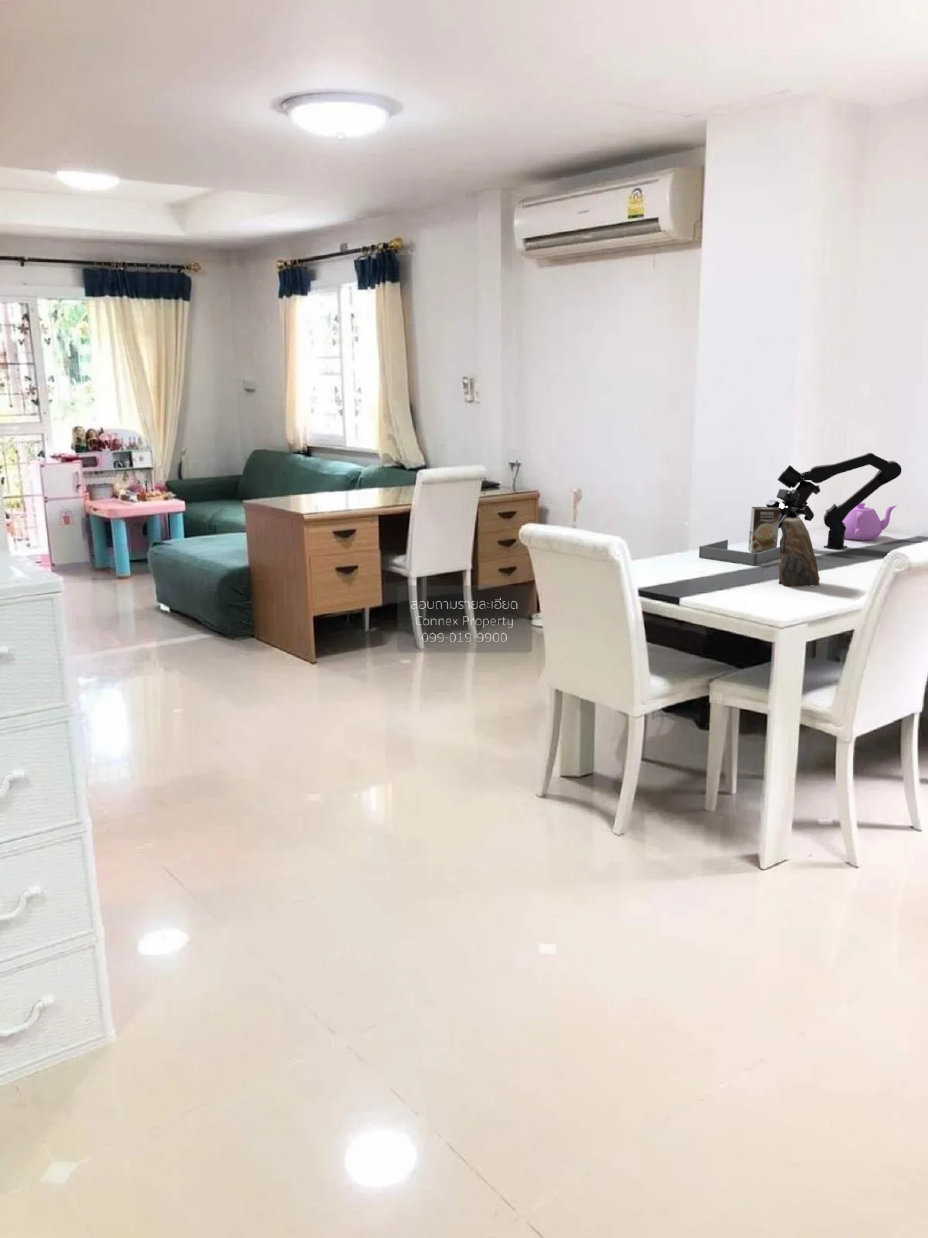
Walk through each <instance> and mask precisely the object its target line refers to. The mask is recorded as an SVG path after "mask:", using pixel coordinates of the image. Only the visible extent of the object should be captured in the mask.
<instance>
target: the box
mask: <svg viewBox="0 0 928 1238" xmlns="http://www.w3.org/2000/svg"><path fill="white" fill-rule="evenodd" d="M728 545H729V540H728V539H725V540H719V541H715V542H713V543H708V544H707V543H706V544H703V545H700V546H699V549H698V550H699V551H698V558H700V559H706V560H712V561H713V560H714V561H719V560H720V561H719V562H721V561H722V562H727V563H734V564H740V563H741V565H748V566H753V567H757V566H760V565H763V564H767V563H771V562H774V561H776V560H777V561H778V560H780V558H779V548H780V546H777V548H774V549H770V550H767V551H763V552H759V553H751V552H750V551H748V552H747V551H742V550H741V551H740V550H733V549H729V548H728V547H729V546H728ZM773 560H774V561H773ZM762 563H763V564H762Z"/></svg>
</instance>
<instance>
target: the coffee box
mask: <svg viewBox="0 0 928 1238" xmlns="http://www.w3.org/2000/svg"><path fill="white" fill-rule="evenodd" d="M750 510H751V511H750V522H749V535H748V536H749V537H748V547H747V548H748V549H747V550H748V552H749V553H759V552H763V551H767V550H770V549H774V548H777V547H778V537H779V529H778V527H779V516H780V509H779V508H776V507H767V506H751V509H750Z"/></svg>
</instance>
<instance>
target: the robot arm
mask: <svg viewBox="0 0 928 1238" xmlns="http://www.w3.org/2000/svg"><path fill="white" fill-rule="evenodd" d="M866 466H871V467H873V468H875V469H877V470H878V471H877V472H876V474H875V475H874V476H873V478H871V479H870V480H869V481H868V482H867V483H866V484H864V485H863V486H862V487H861V488H860V489H858V490H857V491H856V492H855V493H853V494H852V495H851V496H850V497H848V498H847V499H846V500H845V501H843V503H840V504H839V505H837V504H836V503H833V504H832V506H831V507H830V508H828V509H826V510H825V513H824V515H823V522H824V525H825V526H826V527H827V528H829V530H828V536H827V545H823V548H826V549H835V550H843V549H847V548H848V545H845V530H846V526H845V524H844V523H843V522H842V521H843V520H844V519H845V517H846V516H847V515H848V513H849V512H850V511H851V510H853V509H854V508H855V507H856V506H857V505H859V504H860V503H863V501H865V500H866V499H867V498H868V497H870V496H871V494H873V493H874V492H876V491H877V490H878V489H879V488H881V487H882V486H884V485H885V484H888V483H890V482H892V481H893V480H895V479H896V478H897V479H898V477H899V476H901V474H902V467H901V465H900V464H899V462H897V461H895V460H886V459H885V458H882V457H880V456H878V455H876V454H874V453H873V452H868V453H865V454H862V455H860V456H856V457H854V458H849V459H846V460H843V461H841V462H837V463H831V464H822V465H815V466H813V467H811V468H810V469H809V470H808V471H803V472H799V471H798V470H797V469H795V468H794V467H793V466H792V465H788V466H787V468H786V469H785V470H783V471H782V472H781V474H780V475H779V477H778V478H777V479H776V480H777V481H778V482H779V483H781V484H783V485H784V486H785V487H787V488H788V489H784V488H779V490H778V492H777V495H776V498H777V499H780V500H781V503H780V502H779V500H778V501H777V500H772V499H771V500H768V501H767V503H766V504H765V507H776V508H779V509H780V516H779V527H778V530H779V529H781V528H780V527H781V526H782V524H783V520H784V519H785V518H797V517H800V516H801V515H804V517H803V518H804V520H805V521H807V522H809V521H810V522H812V520H813V519H814V517H815V513H814V512H813V510H812V509H811V507H810V505H808V502H807V501H808V500H809V498H810V496H812V494H814V495H818V494H819V493H820V492H821V488H820V485H819V484H820V483H823V482H825V481H827V480H829V479H831V478H832V477H835V476H837V475H839V474H843V473H845V472H846V473H847V472H850V471H853V470H856V469H859V468H863V467H866ZM816 484H818V485H816ZM791 488H793V489H791ZM790 489H791V490H790Z"/></svg>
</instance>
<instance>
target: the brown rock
mask: <svg viewBox="0 0 928 1238" xmlns="http://www.w3.org/2000/svg"><path fill="white" fill-rule="evenodd" d="M779 529H780V530H781V538H780V540H779V547H780V548H779V558H780V559H779V564H778V571H779V574H778V577H779V578H778V582H777V583H778V585H781V584H782V585H781V586H783V585H784V586H783V587H785V586H786V587H789V588H790V587H791V586H793V587H806V586H805V585H808V586H807V587H811V586H810V585H815V586H820V575H819V570H818V562H817V559H816V554H815V551H814V547H813V543H812V539H811V536H810V533H809V530H808V529H807V527H806V524H805V523H804V521H803V519H801V517H800V516H799V517H797V518H785V519H784V520H783V524H782V526H781V527H780V528H779Z"/></svg>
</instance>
